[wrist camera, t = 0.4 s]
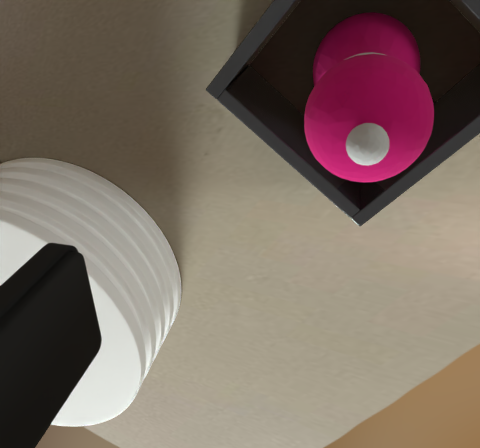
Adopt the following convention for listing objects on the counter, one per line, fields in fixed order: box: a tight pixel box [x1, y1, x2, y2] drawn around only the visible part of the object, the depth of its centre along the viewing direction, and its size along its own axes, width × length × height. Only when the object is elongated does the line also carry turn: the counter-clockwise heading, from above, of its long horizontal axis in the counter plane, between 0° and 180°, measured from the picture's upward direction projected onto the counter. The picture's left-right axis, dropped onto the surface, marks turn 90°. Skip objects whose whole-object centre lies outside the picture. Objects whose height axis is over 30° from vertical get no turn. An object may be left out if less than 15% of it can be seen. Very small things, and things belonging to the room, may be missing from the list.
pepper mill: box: [304, 12, 434, 182], centre depth 26 cm, size 7×7×20 cm
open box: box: [206, 0, 480, 226], centre depth 31 cm, size 15×15×8 cm
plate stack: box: [0, 158, 182, 426], centre depth 49 cm, size 28×28×12 cm
